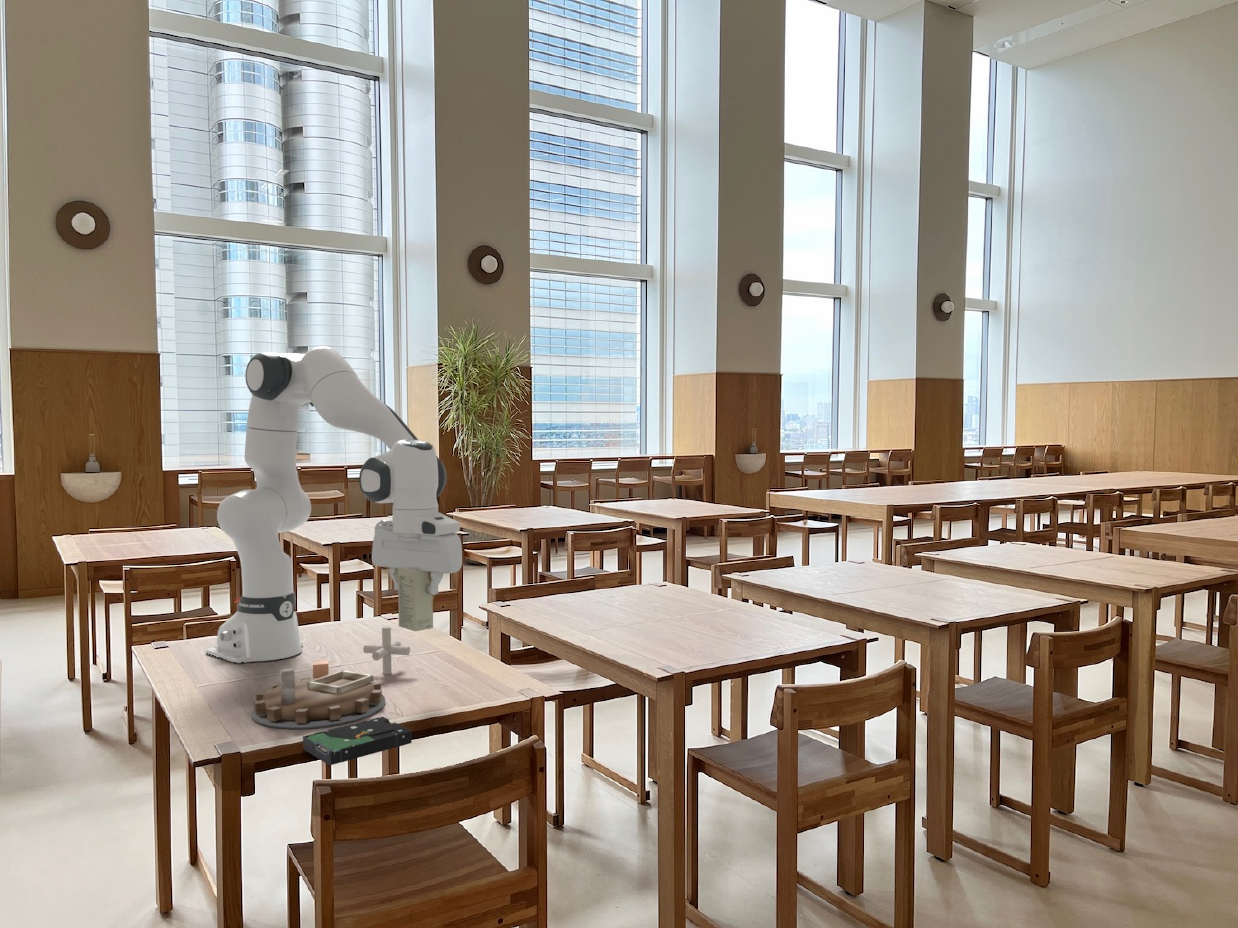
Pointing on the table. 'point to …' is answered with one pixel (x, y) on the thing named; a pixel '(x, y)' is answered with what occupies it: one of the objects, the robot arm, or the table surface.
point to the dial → (318, 697)
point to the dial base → (318, 723)
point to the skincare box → (414, 599)
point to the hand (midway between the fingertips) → (416, 592)
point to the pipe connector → (386, 649)
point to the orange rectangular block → (320, 669)
